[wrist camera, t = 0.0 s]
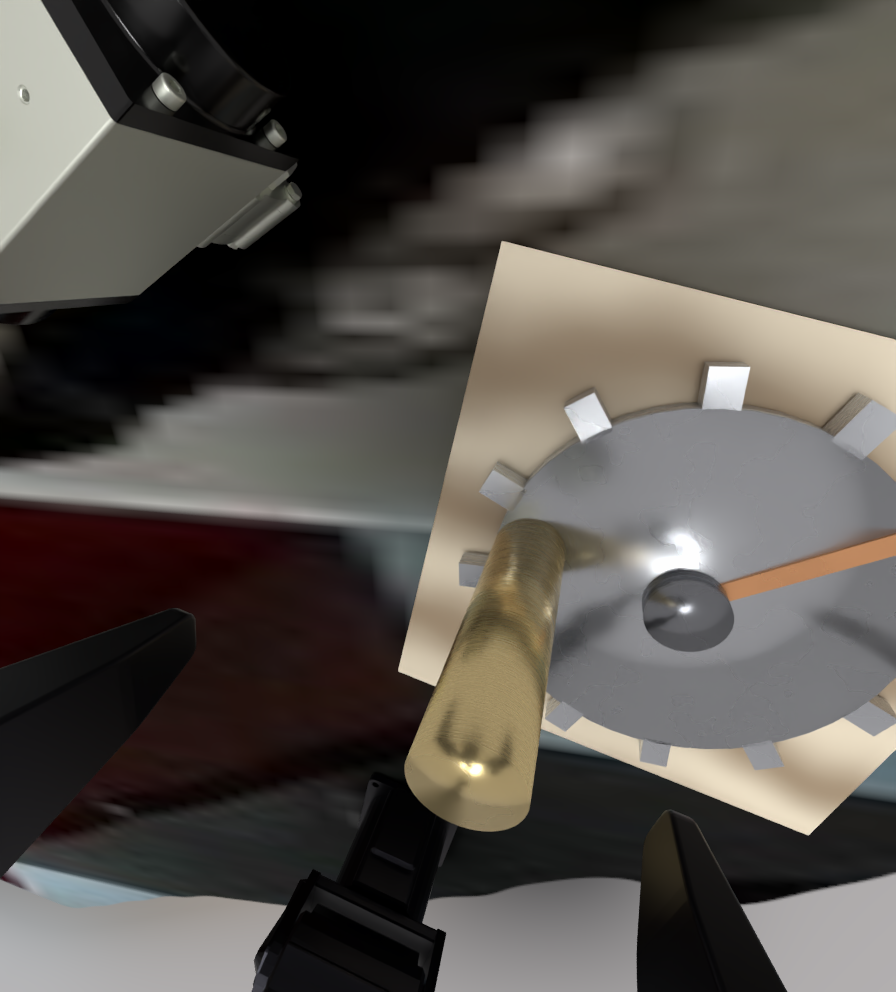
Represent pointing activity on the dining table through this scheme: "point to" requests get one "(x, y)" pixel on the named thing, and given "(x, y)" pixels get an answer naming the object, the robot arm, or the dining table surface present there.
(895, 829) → the dining table surface
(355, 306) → the dining table surface
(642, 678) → the sprocket
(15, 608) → the dining table surface
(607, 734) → the sprocket base
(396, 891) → the robot arm
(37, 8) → the pneumatic valve
